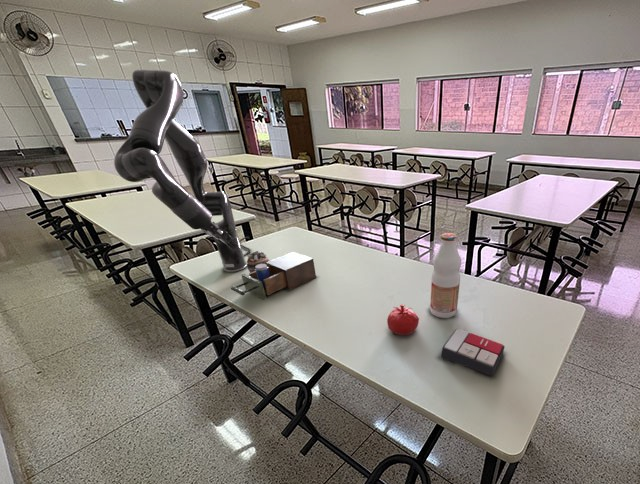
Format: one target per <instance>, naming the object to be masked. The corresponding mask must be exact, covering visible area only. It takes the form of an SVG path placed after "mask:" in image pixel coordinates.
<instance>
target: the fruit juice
mask: <svg viewBox="0 0 640 484" xmlns="http://www.w3.org/2000/svg"><path fill="white" fill-rule="evenodd" d="M440 241H441V244H440V245H439V248H438V250H437V252H436V253H435V255H434V256H433V259H432V265H433V270H432V274H431V283H430V284H431V285H430V286H431V287H430V305H429V309H430V312H431V314H432V315H433V316H434V317H437V318H440V319H448V318H449V319H450V318H452V317H454V316H455V315H456V314H457V312H458V304H459V295H460V284H461V272H460V269H461V266H462V257H461V255H460V253H459V251H458V247H457V241H458V235H457V234H456V233H454V232H444V233H442V234H441V236H440Z"/></svg>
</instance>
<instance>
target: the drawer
mask: <svg viewBox="0 0 640 484" xmlns="http://www.w3.org/2000/svg"><path fill="white" fill-rule="evenodd" d="M267 267H268V271H269V275H270V277H269V278H266V279H264V280H263V281H264V285H265V290H264V288H263V284H262V282H261V281H259V280H258V278H257V274H256V271H254V272H252V273H250V272H249V273H248V274H246V273H242V274H241V276H240V277H241V278H242V282H243V283H240V284H239V285H235V286H230V291H233V292H235V293H236V294H239V295H241V296H245V295H246V294H247V293H249V294H252V295H254V296H255V297H257V298H259V299H262V300H266V299H267V296H269V295H271V294H274V293H276V292H278V291H280V290H282V289H285V288H284V287H287V282H286V277H285V273H284V271H281V270H279V269H276V268H274V267H271V266H267ZM243 286H244V289H245V290H244V291H243V290H241V289H240V288H241V287H243ZM266 295H267V296H266Z"/></svg>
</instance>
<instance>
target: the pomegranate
mask: <svg viewBox="0 0 640 484" xmlns="http://www.w3.org/2000/svg"><path fill="white" fill-rule="evenodd" d="M393 308H394V309H392V310H391V311H390V312H389V314H388V316H387V319H386V323H387V327H388V328H387V329H388V330H389V331H390V332H391V333H394V334H395V335H400V336H408V335H410V334H412V333H414V332H415V331H416V330H417V328H418V326H419V322H420V318H419V316H418V315H417V313H415V311H413V310H411V307H406V304H399V307H398V306H393Z"/></svg>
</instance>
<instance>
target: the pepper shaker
mask: <svg viewBox="0 0 640 484" xmlns="http://www.w3.org/2000/svg"><path fill="white" fill-rule="evenodd" d="M255 268H256V269H255V270H256V274H257V278H258V280H259V281H261V282H262V284H263V288H264V290H265V285H264V281H263V280H264V279H266V278H269V277H270V275H269V271H268V267H267V265H266V264H258V265H256V266H255Z"/></svg>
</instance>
